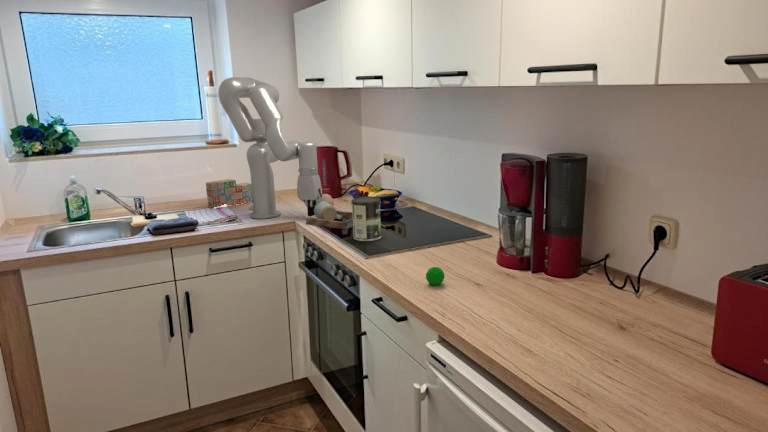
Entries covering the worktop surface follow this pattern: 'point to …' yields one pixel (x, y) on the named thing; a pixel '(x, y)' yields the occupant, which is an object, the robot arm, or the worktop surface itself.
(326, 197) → the egg
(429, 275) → the green ball
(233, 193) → the stack of blocks
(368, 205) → the coffee can
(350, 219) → the brown flat slab
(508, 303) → the worktop surface
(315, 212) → the light bulb
